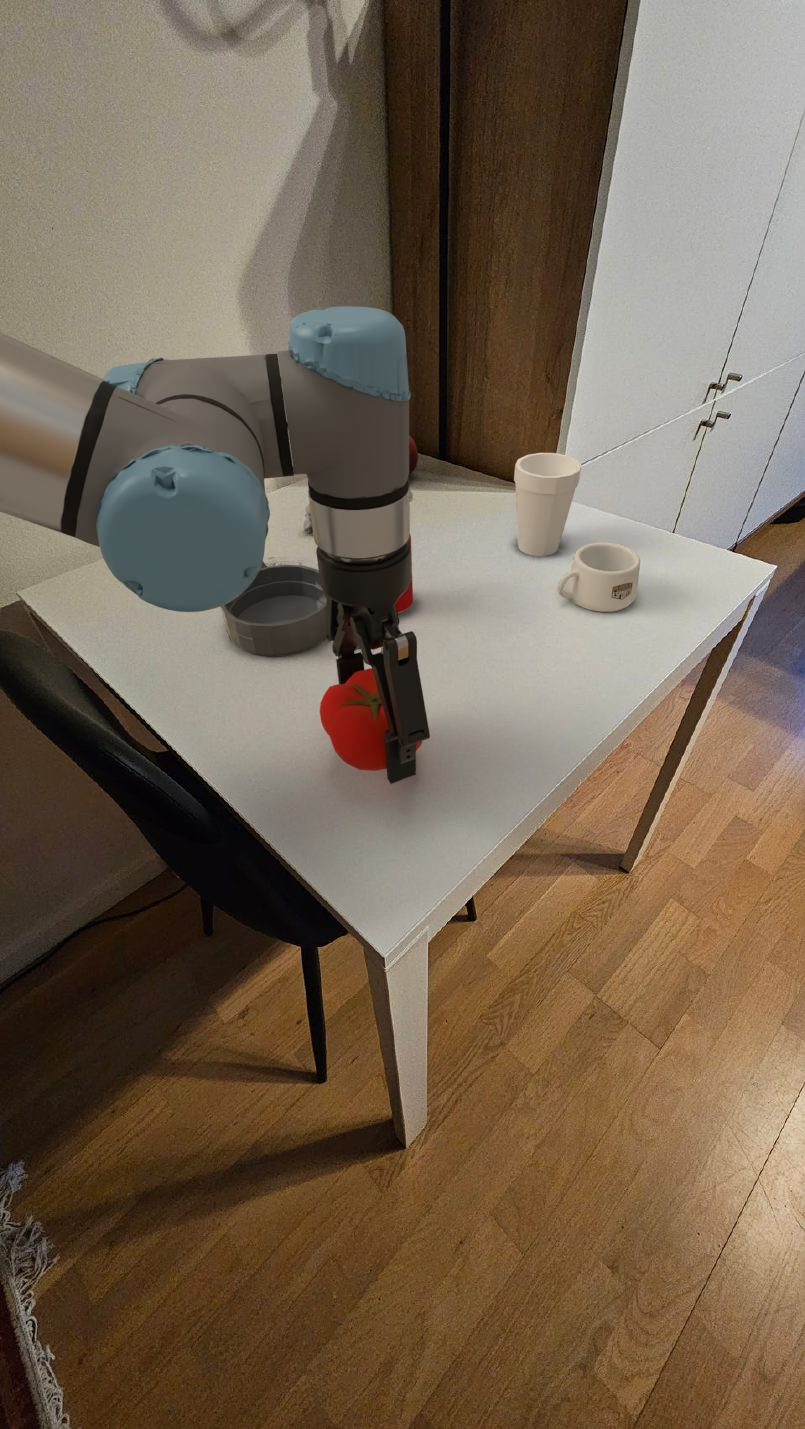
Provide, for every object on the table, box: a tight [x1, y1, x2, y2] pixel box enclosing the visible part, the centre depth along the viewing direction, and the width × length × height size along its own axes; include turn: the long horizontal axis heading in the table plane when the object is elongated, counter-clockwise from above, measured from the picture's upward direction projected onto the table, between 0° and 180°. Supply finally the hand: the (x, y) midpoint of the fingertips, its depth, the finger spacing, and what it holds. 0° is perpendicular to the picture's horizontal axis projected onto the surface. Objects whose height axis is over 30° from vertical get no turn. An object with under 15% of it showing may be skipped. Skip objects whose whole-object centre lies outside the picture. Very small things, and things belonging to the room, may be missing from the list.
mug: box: [557, 542, 641, 613], centre depth 87 cm, size 12×10×6 cm
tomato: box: [319, 667, 423, 772], centre depth 62 cm, size 10×11×6 cm
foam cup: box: [513, 452, 583, 557], centre depth 96 cm, size 10×9×13 cm
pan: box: [220, 564, 327, 657], centre depth 85 cm, size 15×15×5 cm
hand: (376, 738), depth 64 cm, fingers closed on tomato, 11 cm apart
